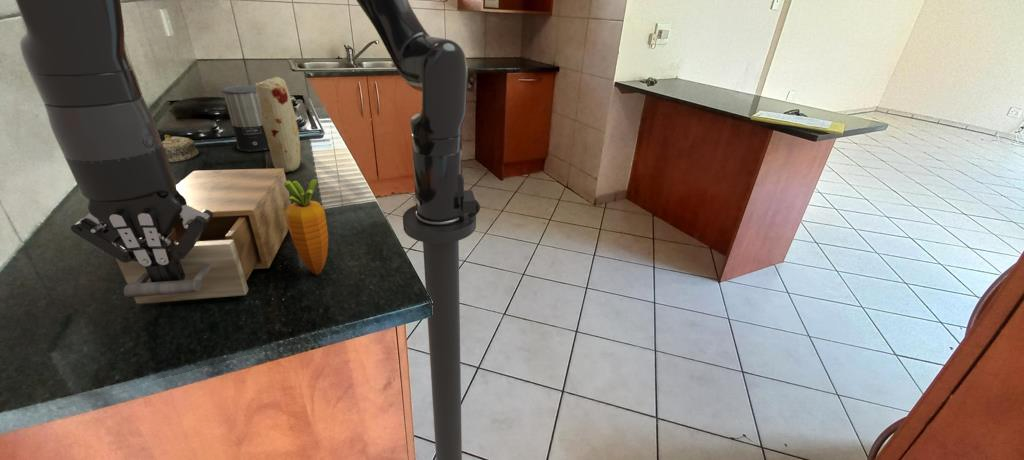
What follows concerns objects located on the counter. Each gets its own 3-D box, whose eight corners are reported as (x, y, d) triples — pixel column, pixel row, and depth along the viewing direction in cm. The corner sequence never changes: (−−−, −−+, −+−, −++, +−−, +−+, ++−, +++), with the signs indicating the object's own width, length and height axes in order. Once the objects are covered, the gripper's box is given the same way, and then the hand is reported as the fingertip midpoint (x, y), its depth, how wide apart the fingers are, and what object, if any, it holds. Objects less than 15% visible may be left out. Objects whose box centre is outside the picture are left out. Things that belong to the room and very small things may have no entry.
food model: (303, 174, 96) (285, 81, 86) (270, 176, 93) (248, 82, 84) (306, 160, 104) (289, 74, 94) (275, 162, 101) (255, 74, 92)
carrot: (337, 263, 65) (321, 171, 58) (334, 282, 61) (316, 184, 53) (302, 267, 63) (280, 172, 56) (296, 286, 59) (272, 187, 52)
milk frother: (241, 154, 105) (225, 93, 98) (226, 139, 115) (210, 82, 108) (301, 145, 114) (290, 87, 106) (282, 131, 124) (271, 78, 117)
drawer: (232, 319, 51) (214, 266, 48) (113, 331, 49) (83, 274, 45) (277, 237, 69) (266, 193, 65) (190, 242, 66) (174, 197, 63)
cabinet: (269, 268, 63) (253, 210, 58) (163, 275, 60) (138, 215, 55) (294, 218, 77) (283, 168, 72) (210, 222, 74) (193, 170, 70)
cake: (209, 153, 106) (204, 132, 104) (176, 167, 98) (170, 144, 95) (172, 146, 107) (166, 125, 104) (136, 159, 98) (129, 137, 96)
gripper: (204, 134, 47) (243, 265, 55) (62, 135, 44) (125, 273, 52) (171, 156, 40) (221, 301, 49) (2, 159, 38) (85, 312, 46)
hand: (171, 286), depth 51 cm, fingers closed
